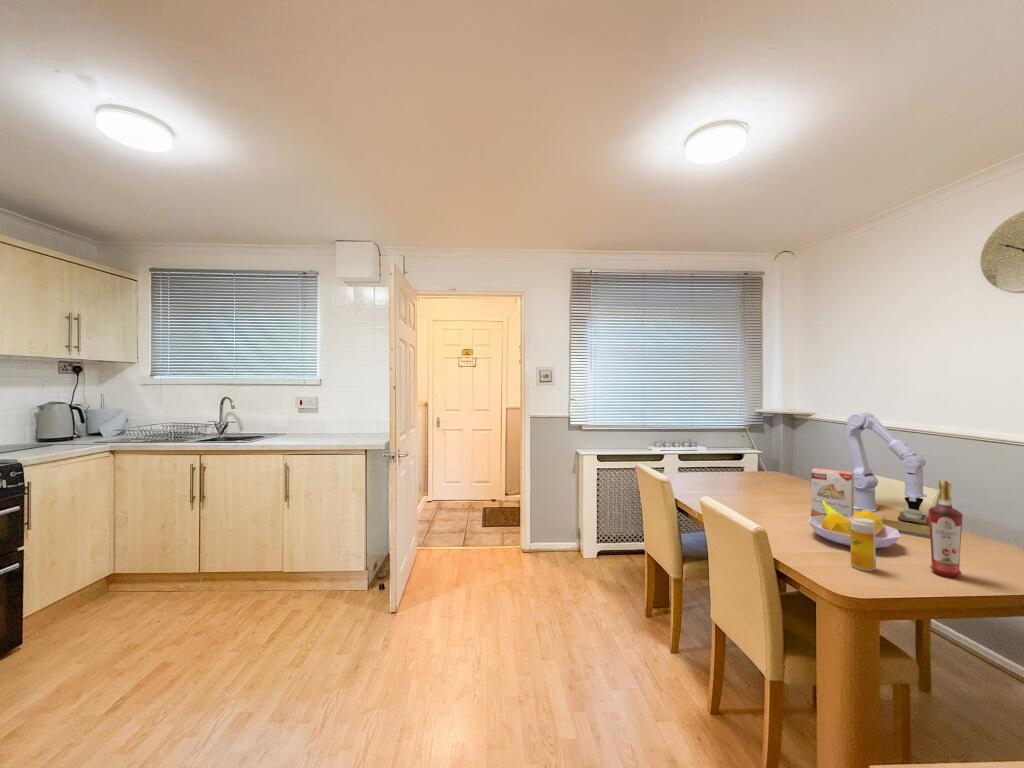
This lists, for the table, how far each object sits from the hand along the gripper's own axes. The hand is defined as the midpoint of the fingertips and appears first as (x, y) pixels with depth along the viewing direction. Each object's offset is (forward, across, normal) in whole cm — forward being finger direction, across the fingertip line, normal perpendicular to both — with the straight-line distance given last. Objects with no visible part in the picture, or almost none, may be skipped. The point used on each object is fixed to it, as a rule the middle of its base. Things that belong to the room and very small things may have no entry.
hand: (914, 515), depth 186 cm
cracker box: (+2, -25, +24) cm, 35 cm away
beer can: (+2, -77, +7) cm, 78 cm away
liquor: (+2, -66, -11) cm, 66 cm away
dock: (+2, -18, 0) cm, 18 cm away
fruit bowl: (+2, -50, +14) cm, 52 cm away
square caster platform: (+2, -6, 0) cm, 6 cm away
